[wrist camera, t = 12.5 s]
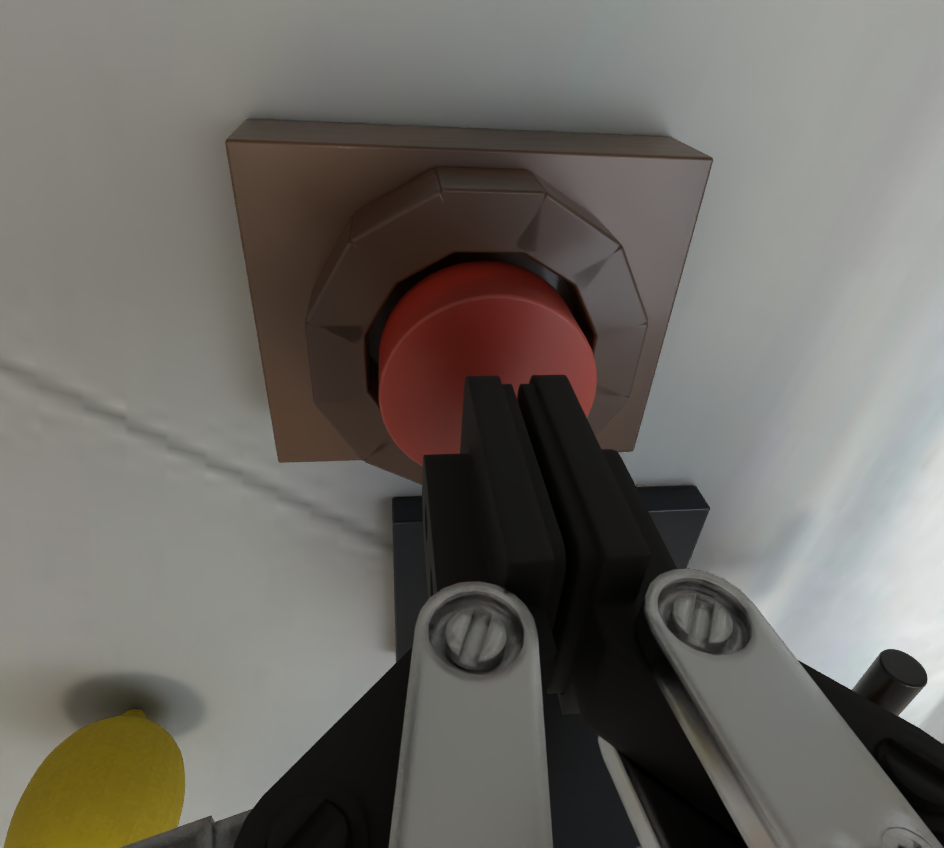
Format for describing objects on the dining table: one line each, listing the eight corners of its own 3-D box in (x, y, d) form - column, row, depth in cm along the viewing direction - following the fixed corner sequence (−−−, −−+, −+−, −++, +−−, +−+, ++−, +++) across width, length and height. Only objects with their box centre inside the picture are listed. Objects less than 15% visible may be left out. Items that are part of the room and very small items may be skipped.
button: (590, 260, 12) (617, 295, 11) (560, 432, 15) (579, 478, 14) (374, 257, 12) (375, 294, 10) (381, 436, 14) (381, 485, 13)
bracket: (696, 485, 22) (978, 927, 12) (641, 635, 27) (801, 1031, 17) (391, 497, 20) (403, 1016, 10) (395, 653, 26) (406, 1100, 15)
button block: (672, 136, 15) (754, 177, 11) (609, 408, 19) (655, 492, 16) (245, 117, 13) (202, 159, 10) (288, 414, 18) (268, 507, 15)
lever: (877, 629, 20) (956, 688, 18) (816, 710, 22) (880, 768, 21) (566, 871, 14) (642, 994, 12) (538, 940, 16) (596, 1046, 15)
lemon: (64, 740, 26) (-39, 982, 20) (62, 667, 23) (-58, 924, 17) (198, 746, 28) (143, 972, 22) (212, 680, 25) (154, 918, 19)
